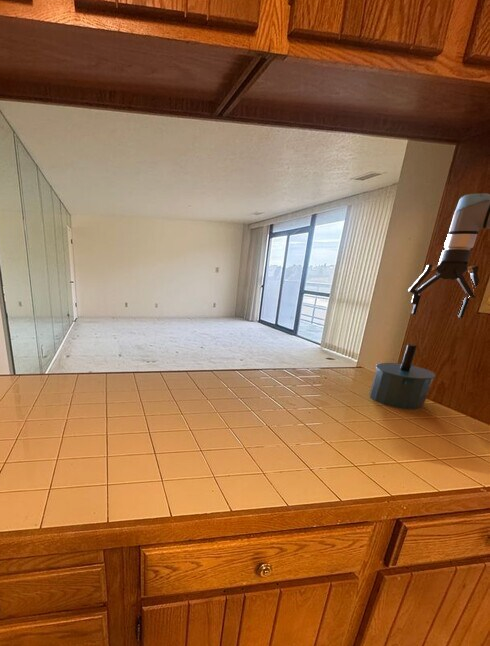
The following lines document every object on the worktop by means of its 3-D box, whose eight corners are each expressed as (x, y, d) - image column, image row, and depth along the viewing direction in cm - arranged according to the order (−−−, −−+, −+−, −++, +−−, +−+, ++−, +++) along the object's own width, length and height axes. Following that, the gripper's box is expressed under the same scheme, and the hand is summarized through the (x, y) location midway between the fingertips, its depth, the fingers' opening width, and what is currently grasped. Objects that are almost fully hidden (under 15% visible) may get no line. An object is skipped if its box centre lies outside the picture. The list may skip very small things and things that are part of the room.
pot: (415, 395, 135) (424, 366, 130) (430, 417, 116) (441, 384, 111) (366, 388, 141) (373, 360, 136) (372, 407, 122) (381, 377, 117)
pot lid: (427, 370, 128) (436, 343, 124) (440, 384, 113) (451, 354, 109) (372, 363, 135) (379, 337, 131) (378, 376, 119) (386, 347, 115)
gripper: (500, 250, 111) (476, 317, 120) (410, 248, 120) (393, 311, 128) (511, 249, 105) (484, 320, 113) (415, 248, 114) (396, 313, 122)
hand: (436, 315), depth 121 cm, fingers open, 13 cm apart
